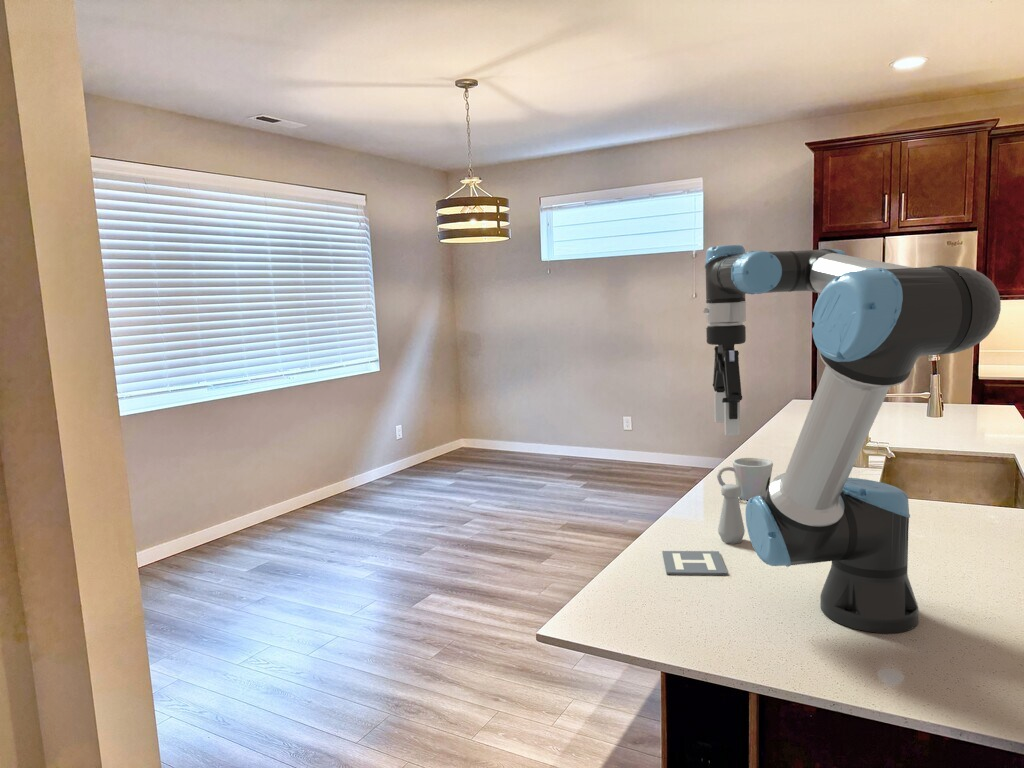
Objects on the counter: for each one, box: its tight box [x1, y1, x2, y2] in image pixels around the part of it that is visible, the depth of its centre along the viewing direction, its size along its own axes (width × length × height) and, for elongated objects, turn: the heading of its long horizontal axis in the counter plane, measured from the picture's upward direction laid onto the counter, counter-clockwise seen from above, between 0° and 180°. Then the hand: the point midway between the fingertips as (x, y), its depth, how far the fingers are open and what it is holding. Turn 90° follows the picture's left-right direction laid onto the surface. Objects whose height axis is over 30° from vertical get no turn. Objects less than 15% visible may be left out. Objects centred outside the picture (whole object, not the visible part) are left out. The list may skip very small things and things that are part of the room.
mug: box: [716, 457, 774, 501], centre depth 190 cm, size 10×15×10 cm
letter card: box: [661, 550, 729, 576], centre depth 146 cm, size 12×12×1 cm
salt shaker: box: [717, 483, 746, 545], centre depth 157 cm, size 6×6×13 cm
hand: (726, 428), depth 141 cm, fingers open, 13 cm apart
